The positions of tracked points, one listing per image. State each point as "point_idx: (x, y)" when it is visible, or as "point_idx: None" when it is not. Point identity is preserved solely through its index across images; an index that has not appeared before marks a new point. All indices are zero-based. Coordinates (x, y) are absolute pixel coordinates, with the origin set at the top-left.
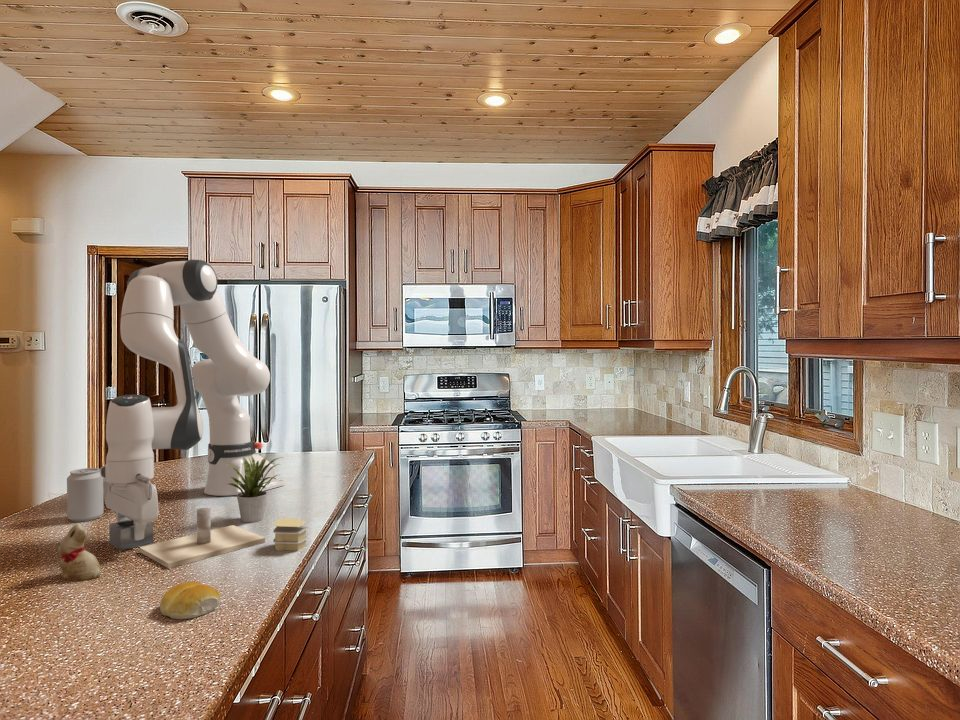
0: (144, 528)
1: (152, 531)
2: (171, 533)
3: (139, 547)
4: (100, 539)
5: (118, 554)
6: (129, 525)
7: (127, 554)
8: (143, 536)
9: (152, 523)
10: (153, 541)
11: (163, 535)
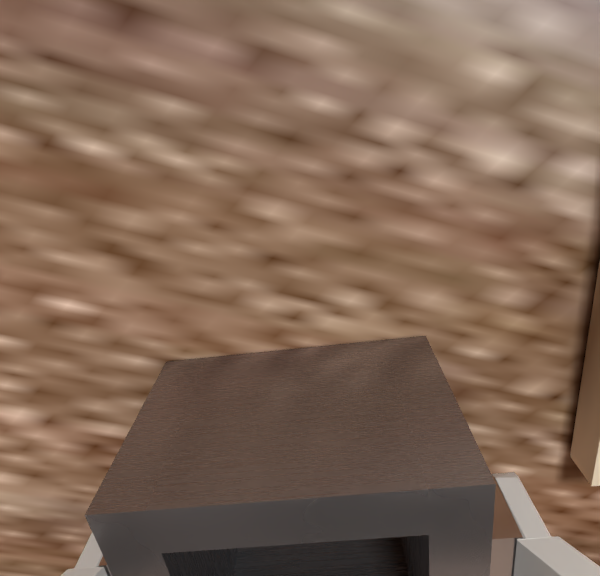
0: (594, 568)
1: (459, 414)
2: (219, 122)
3: (593, 485)
4: (63, 550)
5: None
6: (197, 565)
7: (542, 510)
8: (523, 489)
9: (492, 487)
10: (429, 344)
11: (241, 209)
